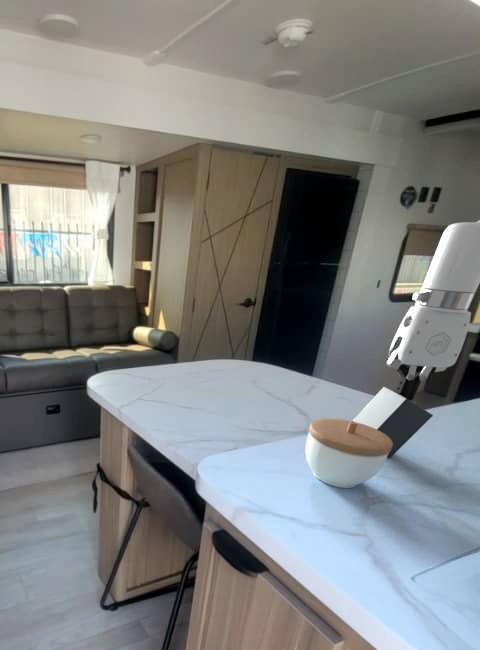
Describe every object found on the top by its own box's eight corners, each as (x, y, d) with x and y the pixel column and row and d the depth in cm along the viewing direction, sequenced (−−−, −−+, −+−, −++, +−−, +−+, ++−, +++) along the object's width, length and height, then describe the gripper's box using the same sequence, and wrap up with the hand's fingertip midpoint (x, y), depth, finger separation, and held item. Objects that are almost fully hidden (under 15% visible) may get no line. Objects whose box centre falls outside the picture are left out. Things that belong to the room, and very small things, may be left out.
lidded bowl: (391, 490, 71) (416, 434, 66) (337, 502, 67) (360, 443, 62) (331, 456, 81) (349, 405, 77) (282, 464, 77) (297, 411, 72)
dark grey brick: (409, 401, 84) (383, 386, 82) (433, 415, 77) (406, 398, 76) (369, 443, 88) (344, 428, 87) (389, 458, 82) (363, 443, 80)
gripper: (415, 301, 68) (376, 402, 76) (503, 307, 68) (455, 407, 76) (387, 295, 75) (354, 389, 83) (467, 300, 75) (426, 393, 83)
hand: (402, 397), depth 80 cm, fingers closed
